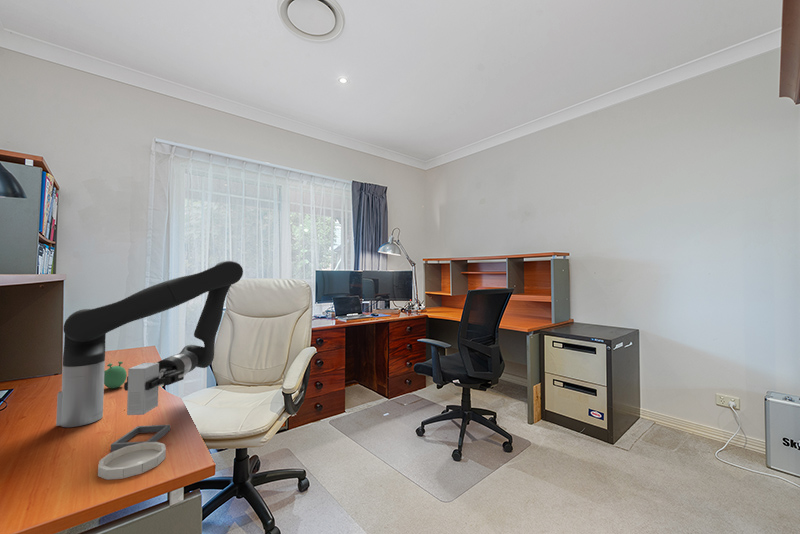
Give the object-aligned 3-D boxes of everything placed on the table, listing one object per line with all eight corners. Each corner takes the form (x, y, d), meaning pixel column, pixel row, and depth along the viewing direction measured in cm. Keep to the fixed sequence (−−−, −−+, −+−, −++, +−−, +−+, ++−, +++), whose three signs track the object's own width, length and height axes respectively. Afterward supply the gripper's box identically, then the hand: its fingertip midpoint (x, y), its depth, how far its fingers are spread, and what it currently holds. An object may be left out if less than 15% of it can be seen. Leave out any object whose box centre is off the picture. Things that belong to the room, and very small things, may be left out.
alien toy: (114, 384, 134) (115, 359, 134) (130, 385, 132) (131, 360, 133) (95, 390, 127) (96, 363, 127) (113, 391, 125) (114, 364, 126)
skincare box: (141, 406, 91) (143, 362, 92) (158, 406, 92) (160, 362, 92) (125, 415, 85) (127, 368, 85) (143, 415, 85) (145, 368, 86)
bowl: (83, 481, 70) (83, 471, 70) (122, 451, 82) (122, 443, 82) (145, 476, 72) (146, 467, 72) (175, 448, 84) (175, 440, 84)
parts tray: (110, 451, 82) (110, 444, 82) (137, 431, 93) (137, 426, 93) (147, 448, 84) (147, 442, 84) (170, 430, 94) (170, 424, 94)
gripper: (147, 356, 102) (106, 372, 85) (197, 356, 104) (167, 371, 87) (146, 381, 102) (105, 402, 85) (196, 380, 104) (166, 400, 87)
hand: (137, 386), depth 86 cm, fingers closed on skincare box, 4 cm apart
